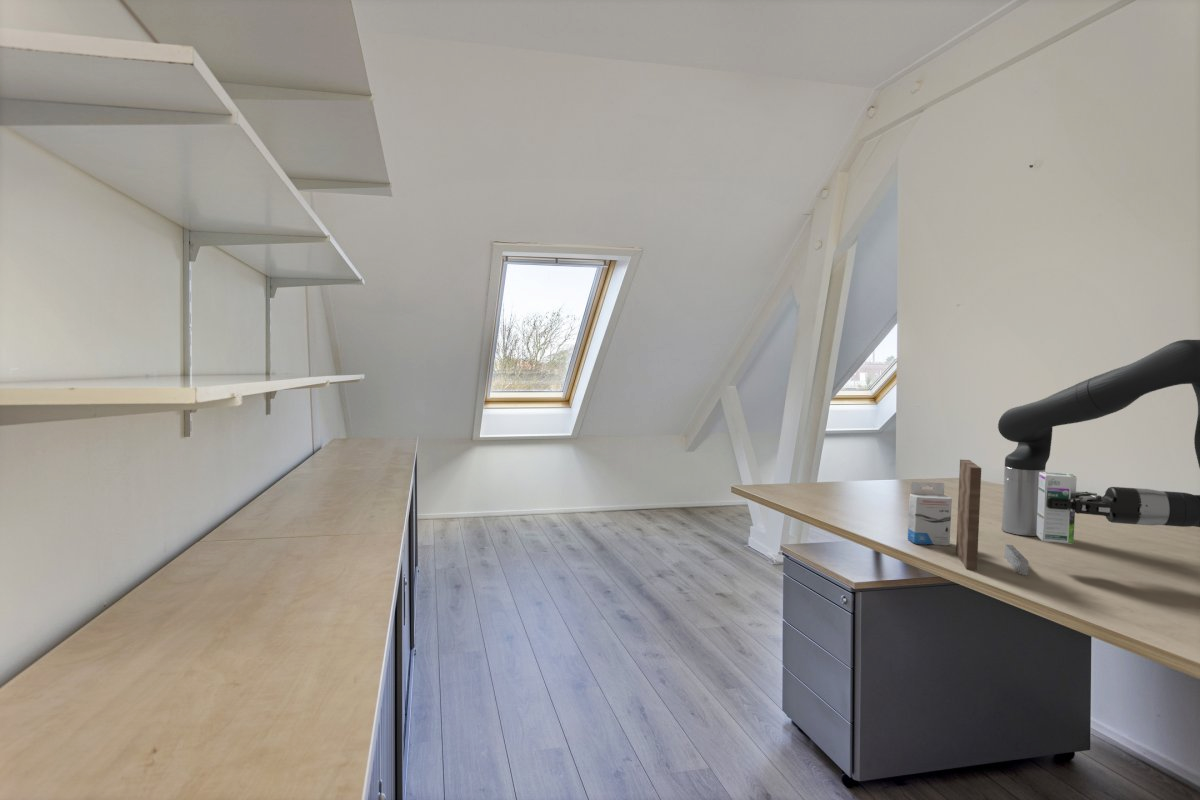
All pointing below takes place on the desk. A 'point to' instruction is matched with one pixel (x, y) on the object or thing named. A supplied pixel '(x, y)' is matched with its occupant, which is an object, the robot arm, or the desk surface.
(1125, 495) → the robot arm
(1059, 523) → the syrup box
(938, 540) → the ink box
